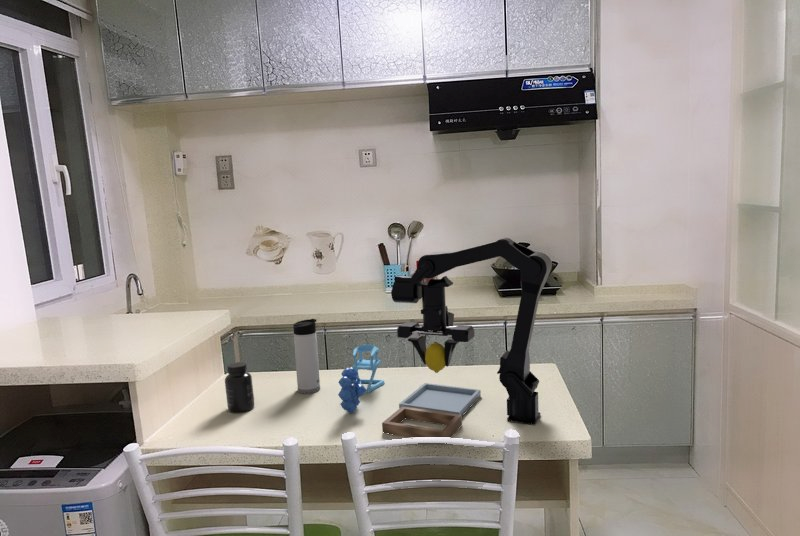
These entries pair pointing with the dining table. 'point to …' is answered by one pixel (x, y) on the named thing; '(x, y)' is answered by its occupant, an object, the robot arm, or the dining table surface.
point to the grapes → (350, 389)
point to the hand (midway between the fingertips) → (436, 365)
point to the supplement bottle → (239, 388)
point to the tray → (442, 398)
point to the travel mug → (306, 356)
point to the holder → (404, 430)
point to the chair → (367, 365)
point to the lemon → (435, 357)
